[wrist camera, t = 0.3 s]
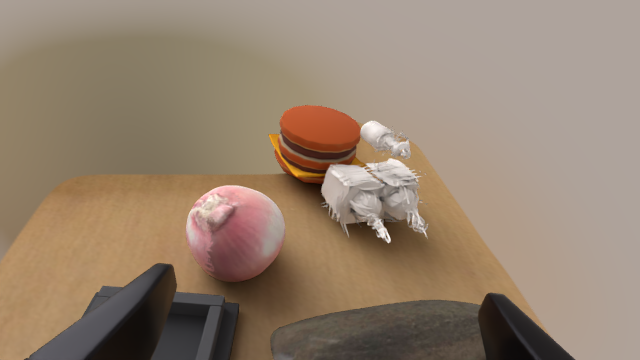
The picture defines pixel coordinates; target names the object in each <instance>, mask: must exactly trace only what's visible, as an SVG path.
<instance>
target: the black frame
mask: <svg viewBox="0 0 640 360" xmlns="http://www.w3.org/2000/svg"><path fill="white" fill-rule="evenodd" d="M122 288H123V287H111V286H102V288H101V290H100V291H99V292H96V294H95V296H94V297H93V299H92V301H91V302H90V304H89V306H88V308H87V309H86V311H85V313H84V314H83V316H82V317H84V316H85V315H86V314H88V313H89V312H90V311H92V310H93V309H95V308H96V307H97V306H99V305H100V304H101V303H103V302H104V301H106V300H107V299H108V298H110V297H111V296H112V295H114V294H115V293H117V292H118V291H119V290H121V289H122ZM238 313H239V304H237V303H225V297H224V296H220V295H208V294H196V293H183V292H176V293H175V296H174V299H173V302H172V305H171V308H170V311H169V314H168V317H167V320H166V323H165V326H164V329H163V331H162V334H161V337H160V340H159V343H158V345H157V348H156V350H155V352H154V354H153V357H152V359H151V360H229V359H230V354H231V349H232V344H233V339H234V333H235V328H236V323H237V318H238Z"/></svg>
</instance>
